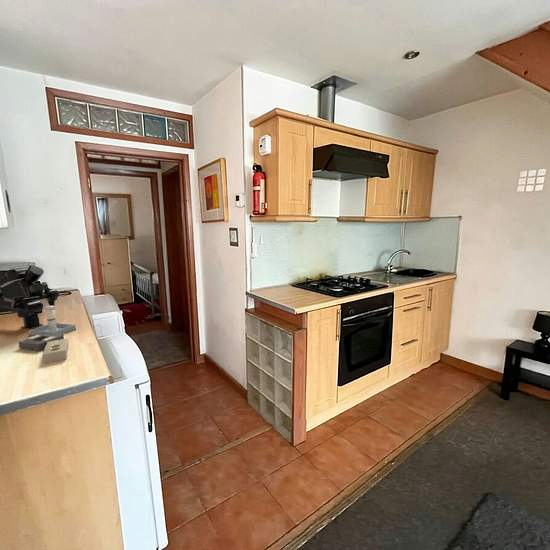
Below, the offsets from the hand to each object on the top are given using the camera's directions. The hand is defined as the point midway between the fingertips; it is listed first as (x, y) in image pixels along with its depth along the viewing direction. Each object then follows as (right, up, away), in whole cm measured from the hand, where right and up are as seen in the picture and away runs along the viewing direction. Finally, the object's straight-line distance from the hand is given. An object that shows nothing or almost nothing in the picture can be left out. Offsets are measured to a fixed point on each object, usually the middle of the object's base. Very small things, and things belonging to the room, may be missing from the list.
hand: (43, 312), depth 146 cm
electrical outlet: (+25, -14, -25) cm, 38 cm away
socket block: (+12, -12, -17) cm, 24 cm away
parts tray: (+5, -10, -1) cm, 11 cm away
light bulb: (+5, -9, -1) cm, 11 cm away
